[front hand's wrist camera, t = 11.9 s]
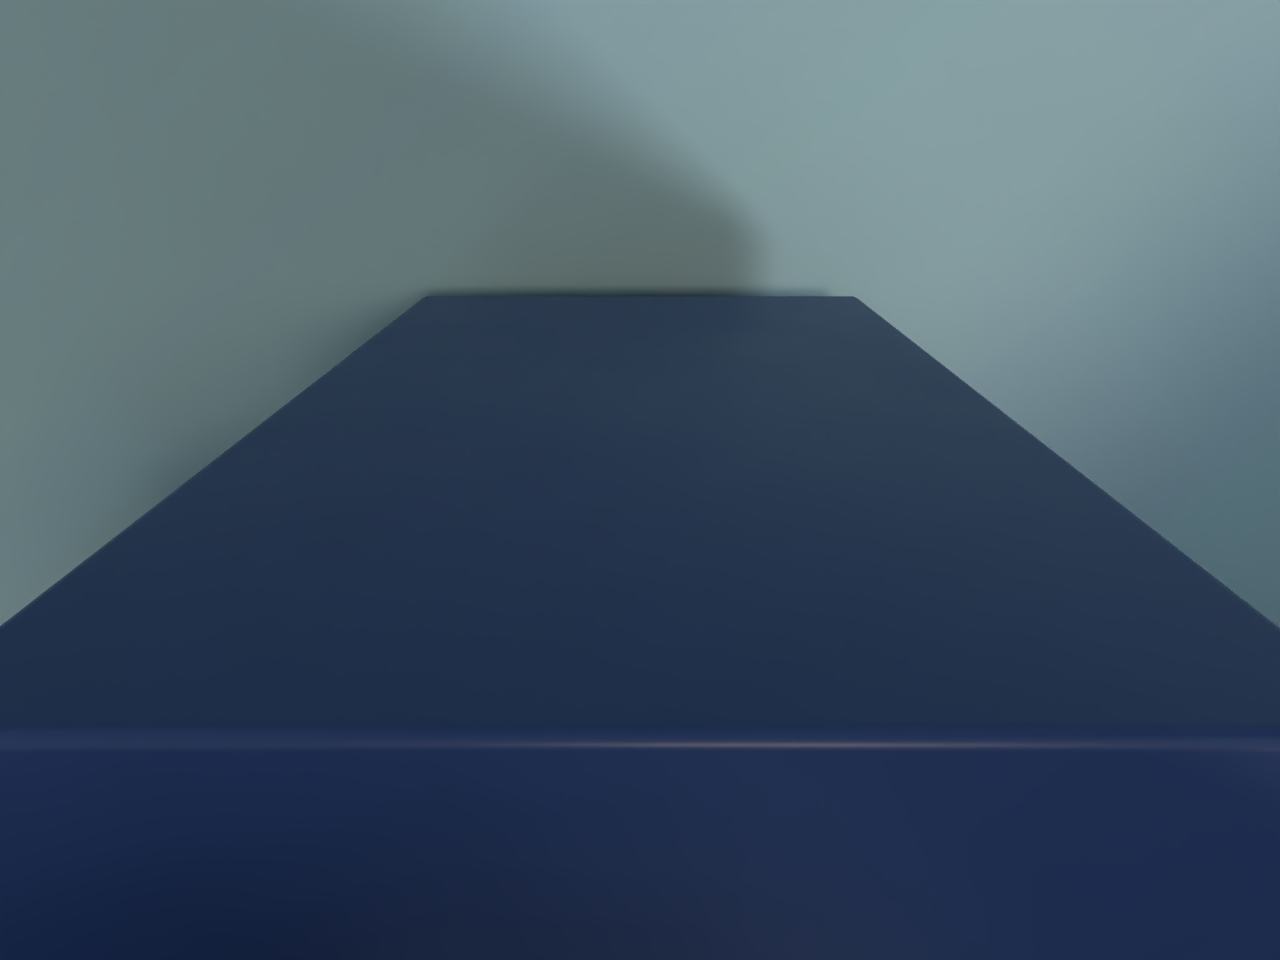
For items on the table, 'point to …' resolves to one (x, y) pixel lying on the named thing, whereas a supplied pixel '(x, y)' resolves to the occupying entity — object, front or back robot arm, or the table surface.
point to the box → (639, 672)
